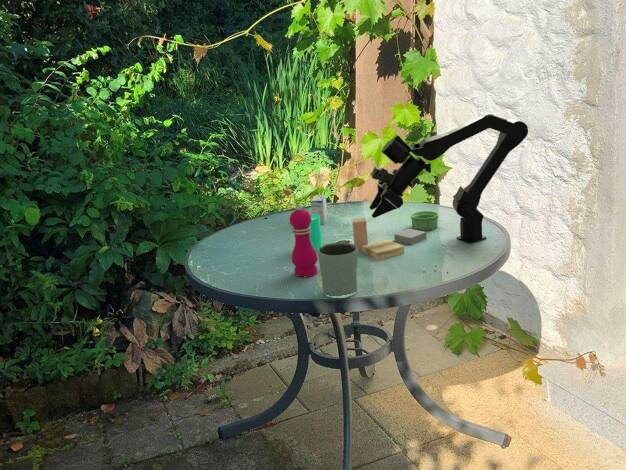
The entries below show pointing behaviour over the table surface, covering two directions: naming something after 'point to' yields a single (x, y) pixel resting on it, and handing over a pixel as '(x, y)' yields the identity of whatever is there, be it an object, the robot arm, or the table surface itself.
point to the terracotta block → (360, 232)
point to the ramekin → (424, 220)
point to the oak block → (383, 249)
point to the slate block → (410, 236)
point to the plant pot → (338, 268)
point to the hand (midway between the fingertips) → (371, 212)
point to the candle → (315, 232)
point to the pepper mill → (303, 243)
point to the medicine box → (319, 207)
